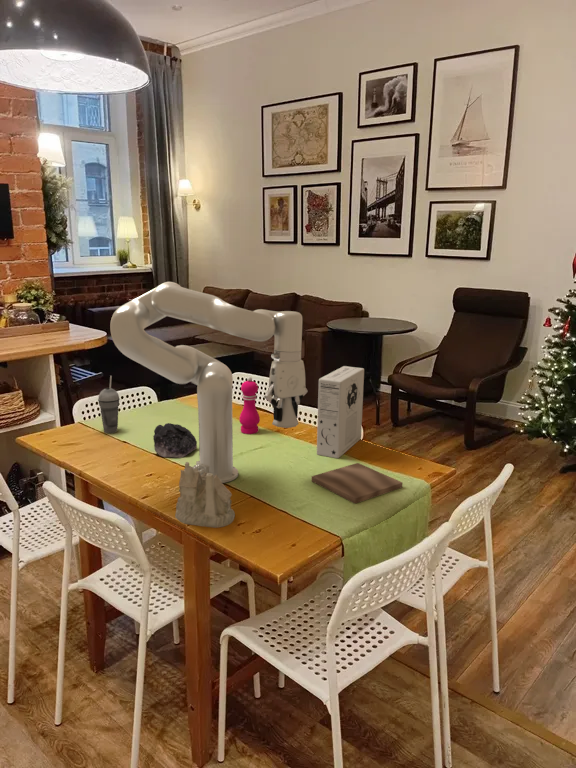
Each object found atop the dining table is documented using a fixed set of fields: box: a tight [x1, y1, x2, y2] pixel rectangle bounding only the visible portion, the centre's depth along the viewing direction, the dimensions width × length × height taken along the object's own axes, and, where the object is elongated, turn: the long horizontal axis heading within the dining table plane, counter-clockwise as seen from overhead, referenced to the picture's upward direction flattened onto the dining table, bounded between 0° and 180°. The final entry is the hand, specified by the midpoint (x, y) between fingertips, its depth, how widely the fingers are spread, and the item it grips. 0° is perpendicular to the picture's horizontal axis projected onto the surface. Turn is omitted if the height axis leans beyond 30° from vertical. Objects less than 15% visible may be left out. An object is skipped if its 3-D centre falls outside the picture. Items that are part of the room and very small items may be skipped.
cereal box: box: [316, 365, 365, 459], centre depth 195 cm, size 22×8×25 cm, turn 154°
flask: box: [271, 397, 299, 429], centre depth 169 cm, size 7×7×10 cm
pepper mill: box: [239, 376, 261, 435], centre depth 210 cm, size 7×7×20 cm
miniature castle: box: [174, 461, 236, 529], centre depth 149 cm, size 16×16×15 cm
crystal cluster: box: [152, 422, 198, 459], centre depth 191 cm, size 13×14×10 cm
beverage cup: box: [97, 375, 120, 434], centre depth 208 cm, size 7×7×20 cm
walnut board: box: [311, 462, 403, 505], centre depth 168 cm, size 18×18×2 cm
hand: (285, 418), depth 170 cm, fingers closed on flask, 4 cm apart
